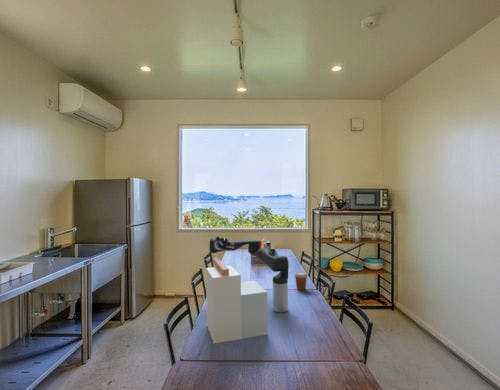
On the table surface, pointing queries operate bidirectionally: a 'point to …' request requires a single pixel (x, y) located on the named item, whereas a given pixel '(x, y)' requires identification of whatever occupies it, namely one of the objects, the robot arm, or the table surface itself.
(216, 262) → the rod
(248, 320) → the riser
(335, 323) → the table surface
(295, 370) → the table surface
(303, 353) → the table surface
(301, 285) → the disposable coffee cup
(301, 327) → the table surface
